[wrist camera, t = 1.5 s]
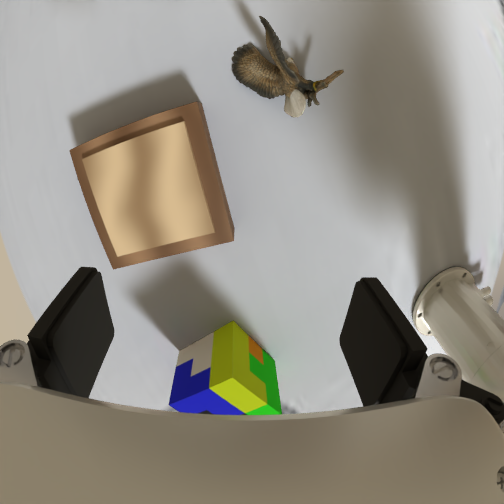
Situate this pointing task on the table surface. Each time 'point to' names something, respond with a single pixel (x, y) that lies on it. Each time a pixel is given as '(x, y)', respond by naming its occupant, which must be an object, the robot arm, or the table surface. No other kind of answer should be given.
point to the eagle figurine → (276, 75)
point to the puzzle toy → (225, 376)
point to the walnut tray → (155, 187)
